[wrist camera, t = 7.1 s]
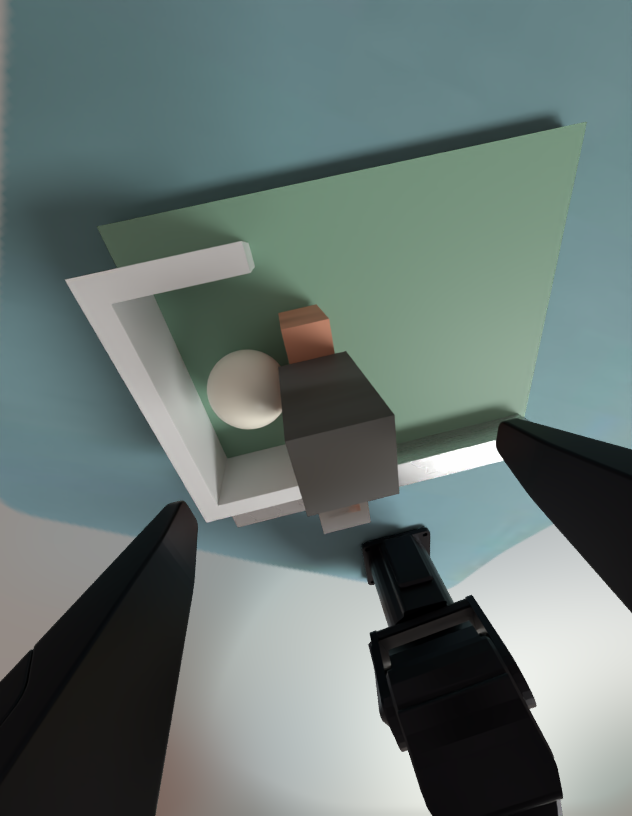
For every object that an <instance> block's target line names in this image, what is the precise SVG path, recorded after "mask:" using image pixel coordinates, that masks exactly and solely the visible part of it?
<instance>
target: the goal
mask: <svg viewBox="0 0 632 816" xmlns="http://www.w3.org/2000/svg"><path fill="white" fill-rule="evenodd" d="M254 267H255V265H254V261H253V258H252V254H251V250H250V247H249V243H247V242H243V241H239V242H235V243H230V244H226V245H221V246H217V247H212V248H208V249H203V250H198V251H194V252H189V253H185V254H180V255H176V256H171V257H166V258H162V259H157V260H153V261H148V262H144V263H139V264H134V265H130V266H125V267H121V268H116V269H112V270H107V271H103V272H98V273H93V274H89V275H84V276H80V277H75V278H71V279H66V280H65V281H66V283H67V284H68V286H69V288H70V290H71V291H72V293H73V295H74V296H75V298H76V300H77V302H78V303H79V305H80V307H81V308H82V310H83V312H84V314H85V315H86V317H87V319H88V320H89V322H90V324H91V326H92V327H93V329H94V331H95V332H96V334H97V336H98V338H99V339H100V341H101V343H102V344H103V346H104V348H105V350H106V351H107V353H108V355H109V356H110V358H111V360H112V362H113V363H114V365H115V367H116V368H117V370H118V372H119V374H120V375H121V377H122V379H123V380H124V382H125V384H126V386H127V387H128V389H129V391H130V392H131V394H132V396H133V398H134V399H135V401H136V403H137V404H138V406H139V408H140V410H141V411H142V413H143V415H144V416H145V418H146V420H147V421H148V423H149V425H150V427H151V428H152V430H153V432H154V433H155V435H156V437H157V439H158V440H159V442H160V444H161V445H162V447H163V449H164V451H165V452H166V454H167V456H168V457H169V459H170V461H171V463H172V464H173V466H174V468H175V469H176V471H177V473H178V475H179V476H180V478H181V480H182V481H183V483H184V485H185V487H186V488H187V490H188V492H189V493H190V495H191V497H192V499H193V500H194V502H195V504H196V505H197V507H198V509H199V511H200V512H201V514H202V516H203V517H204V519H205V521H206V523H207V522H211V521H215V520H219V519H223V518H227V517H231V516H235V515H239V514H243V513H247V512H251V511H255V510H259V509H263V508H267V507H271V506H275V505H279V504H283V503H287V502H291V501H295V500H299V499H302V497H301V493H300V490H299V487H298V483H297V480H296V477H295V474H294V470H293V467H292V464H291V461H290V457H289V454H288V451H287V448H286V444H285V445H280V446H276V447H272V448H268V449H264V450H260V451H256V452H252V453H248V454H244V455H240V456H235V457H231V458H227V457H226V455H225V453H224V451H223V448H222V446H221V444H220V442H219V439H218V437H217V435H216V433H215V431H214V428H213V426H212V424H211V422H210V419H209V417H208V415H207V413H206V411H205V408H204V406H203V404H202V402H201V399H200V397H199V395H198V393H197V391H196V388H195V386H194V384H193V382H192V379H191V377H190V375H189V373H188V371H187V368H186V366H185V364H184V362H183V360H182V357H181V355H180V353H179V351H178V348H177V346H176V344H175V342H174V340H173V337H172V335H171V333H170V331H169V328H168V326H167V324H166V322H165V320H164V317H163V315H162V313H161V311H160V308H159V306H158V304H157V302H156V300H155V297H154V294H158V293H163V292H167V291H171V290H176V289H180V288H185V287H189V286H194V285H198V284H203V283H207V282H212V281H216V280H221V279H225V278H230V277H234V276H239V275H243V274H248V273H251V271H252V270H253V269H254Z"/></svg>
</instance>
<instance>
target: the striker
mask: <svg viewBox="0 0 632 816" xmlns="http://www.w3.org/2000/svg"><path fill="white" fill-rule="evenodd" d="M278 315H279V321H280V327H281V332H282V336H283V340H284V344H285V348H286V352H287V356H288V360H289V365H284V366H280V367H278V371H279V382H280V394H281V405H282V417H283V428H284V440H285V444H286V448H287V451H288V454H289V457H290V461H291V464H292V467H293V470H294V474H295V477H296V480H297V483H298V487H299V490H300V493H301V497H302V500H303V503H304V506H305V510H306V513H307V516H312V515H316V514H319V517H320V521H321V525H322V528H323V532H324V534H327V533H331V532H335V531H338V530H342V529H346V528H350V527H354V526H358V525H362V524H366V523H370V522H371V521H370V514H369V507H368V501H371V500H375V499H379V498H383V497H387V496H391V495H395V494H399V479H398V462H397V445H396V428H395V415H394V413H393V412H392V411H391V409H390V408H389V407H388V405H387V404H386V403H385V401H384V400H383V399H382V398H381V396H380V395H379V394H378V392H377V391H376V390H375V388H374V387H373V386H372V384H371V383H370V382H369V380H368V379H367V378H366V377H365V375H364V374H363V373H362V371H361V370H360V369H359V367H358V366H357V365H356V363H355V362H354V361H353V359H352V358H351V357H350V356H349V354H348V353H347V352H346V351H344V352H340V353H335V352H334V346H333V340H332V333H331V327H330V321H329V318H328V317H327V316H326V315H325V314H324V312H323V311H322V310H321V309H320V308H319V307H318V305H317V304H315V305H311V306H307V307H302V308H298V309H294V310H289V311H285V312H280V313H278Z"/></svg>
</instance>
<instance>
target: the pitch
mask: <svg viewBox="0 0 632 816" xmlns="http://www.w3.org/2000/svg"><path fill="white" fill-rule="evenodd" d="M586 123H587V122H583V123H579V124H574V125H569V126H565V127H560V128H555V129H551V130H546V131H541V132H537V133H532V134H527V135H523V136H518V137H513V138H508V139H504V140H499V141H494V142H490V143H485V144H480V145H476V146H471V147H466V148H462V149H457V150H452V151H448V152H443V153H438V154H434V155H429V156H424V157H420V158H415V159H410V160H406V161H401V162H396V163H392V164H387V165H382V166H378V167H373V168H368V169H364V170H359V171H354V172H350V173H345V174H340V175H335V176H331V177H326V178H321V179H317V180H312V181H307V182H303V183H298V184H293V185H289V186H284V187H279V188H275V189H270V190H265V191H261V192H256V193H251V194H247V195H242V196H237V197H233V198H228V199H223V200H219V201H214V202H209V203H205V204H200V205H195V206H191V207H186V208H181V209H177V210H172V211H167V212H162V213H158V214H153V215H148V216H144V217H139V218H134V219H130V220H125V221H120V222H116V223H111V224H106V225H102V226H97V228H98V230H99V232H100V234H101V236H102V238H103V240H104V242H105V244H106V246H107V248H108V251H109V253H110V255H111V257H112V259H113V261H114V263H115V265H116V267H117V268H121V267H125V266H130V265H134V264H139V263H144V262H148V261H153V260H157V259H162V258H166V257H171V256H176V255H180V254H185V253H189V252H194V251H198V250H203V249H208V248H212V247H217V246H221V245H226V244H230V243H235V242H239V241H243V242H247V243H249V247H250V250H251V254H252V258H253V261H254V265H255V267H254V269H253V270H252V271H251V273H248V274H243V275H239V276H234V277H230V278H225V279H221V280H216V281H212V282H207V283H203V284H198V285H194V286H189V287H185V288H180V289H176V290H171V291H167V292H163V293H158V294H154V297H155V300H156V302H157V304H158V306H159V308H160V311H161V313H162V315H163V317H164V320H165V322H166V324H167V326H168V328H169V331H170V333H171V335H172V337H173V340H174V342H175V344H176V346H177V348H178V351H179V353H180V355H181V357H182V360H183V362H184V364H185V366H186V368H187V371H188V373H189V375H190V377H191V379H192V382H193V384H194V386H195V388H196V391H197V393H198V395H199V397H200V399H201V402H202V404H203V406H204V408H205V411H206V413H207V415H208V417H209V419H210V422H211V424H212V426H213V428H214V431H215V433H216V435H217V437H218V439H219V442H220V444H221V446H222V448H223V451H224V453H225V455H226V457H227V458H231V457H235V456H240V455H244V454H248V453H252V452H256V451H260V450H264V449H268V448H272V447H276V446H280V445H285V440H284V428H283V417H282V412H281V414H280V415H279V416H278V417H277V418H276V419H275V420H274V421H272V422H271V423H270V424H268V425H266V426H263V427H260V428H256V429H240V428H236V427H233V426H231V425H229V424H227V423H225V422H224V421H223V420H221V419H220V418H219V417H218V416H217V415H216V413H215V412H214V411H213V409H212V407H211V405H210V403H209V400H208V396H207V382H208V378H209V375H210V372H211V371H212V369H213V367H214V366H215V365H216V363H217V362H218V361H219V360H220V359H222V358H223V357H224V356H226V355H227V354H229V353H232V352H234V351H239V350H248V349H249V350H256V351H260V352H263V353H265V354H267V355H269V356H270V357H272V358H273V359H274V360H276V361H277V362H278V364H279V365H280V366H284V365H289V360H288V356H287V352H286V348H285V344H284V340H283V336H282V332H281V327H280V321H279V315H278V313H280V312H285V311H289V310H294V309H298V308H302V307H307V306H311V305H315V304H317V305H318V307H319V308H320V309H321V310H322V311H323V312H324V314H325V315H326V316H327V317H328V318H329V321H330V327H331V333H332V340H333V346H334V352H335V353H340V352H344V351H346V352H347V353H348V354H349V356H350V357H351V358H352V359H353V361H354V362H355V363H356V365H357V366H358V367H359V369H360V370H361V371H362V373H363V374H364V375H365V377H366V378H367V379H368V380H369V382H370V383H371V384H372V386H373V387H374V388H375V390H376V391H377V392H378V394H379V395H380V396H381V398H382V399H383V400H384V401H385V403H386V404H387V405H388V407H389V408H390V409H391V411H392V412H393V413H394V415H395V428H396V444H398V443H402V442H406V441H410V440H415V439H419V438H423V437H427V436H431V435H435V434H439V433H443V432H447V431H451V430H455V429H459V428H463V427H467V426H471V425H475V424H479V423H483V422H487V421H491V420H495V419H499V418H504V417H508V416H512V415H516V414H520V415H521V416H523V417H524V416H525V411H526V406H527V402H528V397H529V392H530V388H531V383H532V378H533V373H534V369H535V364H536V359H537V355H538V350H539V345H540V340H541V336H542V331H543V326H544V322H545V317H546V312H547V307H548V303H549V298H550V293H551V289H552V284H553V279H554V274H555V270H556V265H557V260H558V256H559V251H560V246H561V241H562V237H563V232H564V227H565V223H566V218H567V213H568V208H569V204H570V199H571V194H572V190H573V185H574V180H575V175H576V171H577V166H578V161H579V156H580V152H581V147H582V142H583V138H584V133H585V128H586Z"/></svg>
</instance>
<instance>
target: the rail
mask: <svg viewBox="0 0 632 816" xmlns="http://www.w3.org/2000/svg"><path fill="white" fill-rule="evenodd" d="M512 418H519V419H522V420H526V421H529V420H527V419H526V418H524V417H523V416H521V415H520V414H516V415H512V416H508V417H504V418H499V419H495V420H491V421H487V422H483V423H479V424H475V425H471V426H467V427H463V428H459V429H455V430H451V431H447V432H443V433H439V434H435V435H431V436H427V437H423V438H419V439H415V440H410V441H406V442H402V443H398V444H396V445H397V462H398V479H399V487H400V486H404V485H408V484H412V483H416V482H420V481H424V480H428V479H432V478H436V477H440V476H444V475H448V474H452V473H456V472H460V471H464V470H468V469H472V468H476V467H479V466H483V465H487V464H491V463H495V462H499V461H503V459H502V457H501V456H500V454H499V453H498V451H497V449H496V438H497V432H498V426H499V424H500V422H501V421H504V420H508V419H512ZM301 511H305V506H304V503H303V500H302V499H299V500H295V501H291V502H287V503H283V504H279V505H275V506H271V507H267V508H263V509H259V510H255V511H251V512H247V513H243V514H239V515H235V516H232V517H233V519H234V521H235V523H236V525H237V527H242V526H246V525H250V524H254V523H258V522H262V521H266V520H270V519H273V518H277V517H281V516H285V515H289V514H293V513H297V512H301Z"/></svg>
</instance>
